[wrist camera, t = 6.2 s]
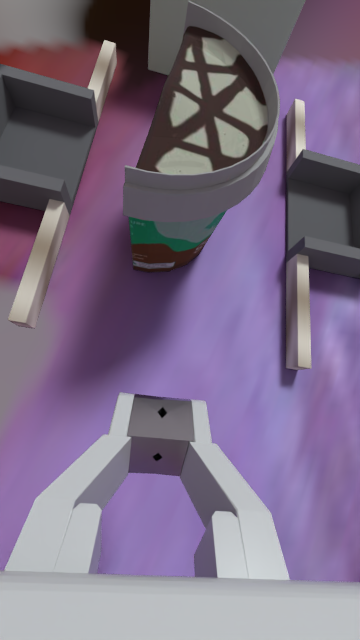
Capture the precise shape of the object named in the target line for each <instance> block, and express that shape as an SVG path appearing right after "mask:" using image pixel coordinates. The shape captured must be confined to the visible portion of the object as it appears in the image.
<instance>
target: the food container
mask: <svg viewBox="0 0 360 640" xmlns="http://www.w3.org/2000/svg"><path fill="white" fill-rule="evenodd" d="M279 111H280V98H279V92H278V87H277V84H276V81H275V78H274V76H273V73H272V71H271V69H270V68H269V66H268V64H267V62H266V60H265V59H264V58H263V56H262V55H261V54H260V52H259V51H258V49H257V48H256V47H255V46H254V45H253V44H252V43H251V42H250V41H249V40H248V39H247V37H246V36H244V35H243V34H242V33H241V32H240V31H239V30H237V29H236V28H235V27H234V26H233V25H231V24H230V23H228V22H227V21H225V20H224V19H223V18H221V17H220V16H218V15H216V14H214V13H213V12H211V11H209V10H207V9H205V8H204V7H201V6H199V5H197V4H195V3H193V2H191V1H188V7H187V14H186V21H185V27H184V34H183V40H182V43H181V46H180V49H179V52H178V54H177V57H176V60H175V62H174V64H173V67H172V69H171V71H170V73H169V75H168V78H167V80H166V82H165V84H164V87H163V90H162V93H161V96H160V99H159V103H158V106H157V109H156V112H155V115H154V118H153V121H152V124H151V127H150V130H149V133H148V136H147V138H146V141H145V144H144V146H143V149H142V152H141V155H140V157H139V160H138V163H137V166H136V168H134V167H130V166H126V165H125V183H124V186H123V215H124V216H129V227H130V238H131V248H132V259H133V269H134V270H139V271H144V272H166V271H171V270H174V269H176V268H179V267H182V266H185V265H186V264H188V263H189V262H190V261H191V260H193V259H194V258H195V257H196V256H198V255H199V253H200V252H201V250H202V249H203V247H204V245H205V244H206V242H207V241H208V239H209V238H210V236H211V234H212V233H213V231H214V230H215V228H216V227H217V225H218V223H219V222H220V220H221V219H222V217H223V216H224V214H225V212H226V211H227V210H228V209H230V208H232V207H233V206H235V205H237V204H239V203H240V202H241V201H242V200H243V199H245V198H246V197H247V196H248V195H249V194H250V193H251V192H252V191H253V190H254V189H255V187H256V186H257V185H258V184H259V182H260V180H261V178H262V176H263V174H264V172H265V170H266V167H267V164H268V161H269V158H270V155H271V152H272V148H273V145H274V142H275V138H276V134H277V131H278V117H279Z"/></svg>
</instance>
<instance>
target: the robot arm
mask: <svg viewBox="0 0 360 640" xmlns="http://www.w3.org/2000/svg"><path fill="white" fill-rule="evenodd" d="M128 473H150V474H154V473H155V474H162V475H172V476H180V479H181V481H182V483H183V485H184V487H185V489H186V491H187V493H188V495H189V497H190V499H191V501H192V503H193V505H194V507H195V509H196V511H197V513H198V515H199V517H200V518H201V520H202V522H203V524H204V526H205V528H206V530H205V533H204V535H203V537H202V539H201V541H200V543H199V545H198V548H197V550H196V552H195V554H194V568H195V577H184V576H153V575H123V574H97V572H98V566H99V561H100V555H101V515H102V510H103V509H104V507H105V506H106V504H107V503H108V502H109V500H110V499H111V497H112V496H113V495H114V493H115V492H116V491H117V489H118V488H119V486H120V485H121V484H122V482H123V481H124V479H125V478H126V477H127V475H128ZM0 640H360V582H335V581H305V580H290V579H289V575H288V572H287V568H286V565H285V561H284V558H283V554H282V551H281V547H280V544H279V540H278V537H277V533H276V530H275V526H274V523H273V519H272V516H271V513H270V511H269V510H268V509H267V508H266V506H265V505H264V504H263V502H262V501H261V500H260V499H259V497H258V496H257V495H256V494H255V492H254V491H253V490H252V488H251V487H250V486H249V485H248V483H247V482H246V481H245V480H244V478H243V477H242V476H241V475H240V473H239V472H238V471H237V469H236V468H235V467H234V466H233V464H232V463H231V462H230V461H229V459H228V458H227V457H226V455H225V454H224V453H223V452H222V450H221V449H220V448H219V447H218V445H217V444H213V443H212V440H211V433H210V426H209V419H208V412H207V405H206V402H205V401H201V400H190V399H179V398H168V397H156V396H148V395H139V394H129V393H121V392H120V393H119V395H118V398H117V402H116V406H115V410H114V414H113V418H112V421H111V425H110V429H109V433H108V435H102V436H101V437H100V438H99V439H98V440H97V441H96V442H95V443H94V444H93V445H92V446H91V447H90V448H89V449H87V450H86V451H85V452H84V453H83V454H82V455H81V456H80V457H79V458H78V459H77V460H76V461H75V462H74V463H73V464H72V465H71V466H70V467H68V468H67V469H66V470H65V471H64V472H63V473H62V474H61V475H60V476H59V477H58V478H57V479H56V480H55V481H54V482H53V483H52V484H50V485H49V486H48V487H47V488H46V489H45V490H44V491H43V492H42V493H41V494H40V495H39V496H38V497H37V498H36V499H35V501H34V504H33V506H32V508H31V510H30V513H29V515H28V517H27V520H26V522H25V524H24V526H23V529H22V531H21V533H20V536H19V538H18V540H17V542H16V545H15V547H14V549H13V552H12V554H11V556H10V558H9V561H8V563H7V565H6V567H5V570H4V571H1V570H0Z"/></svg>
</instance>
